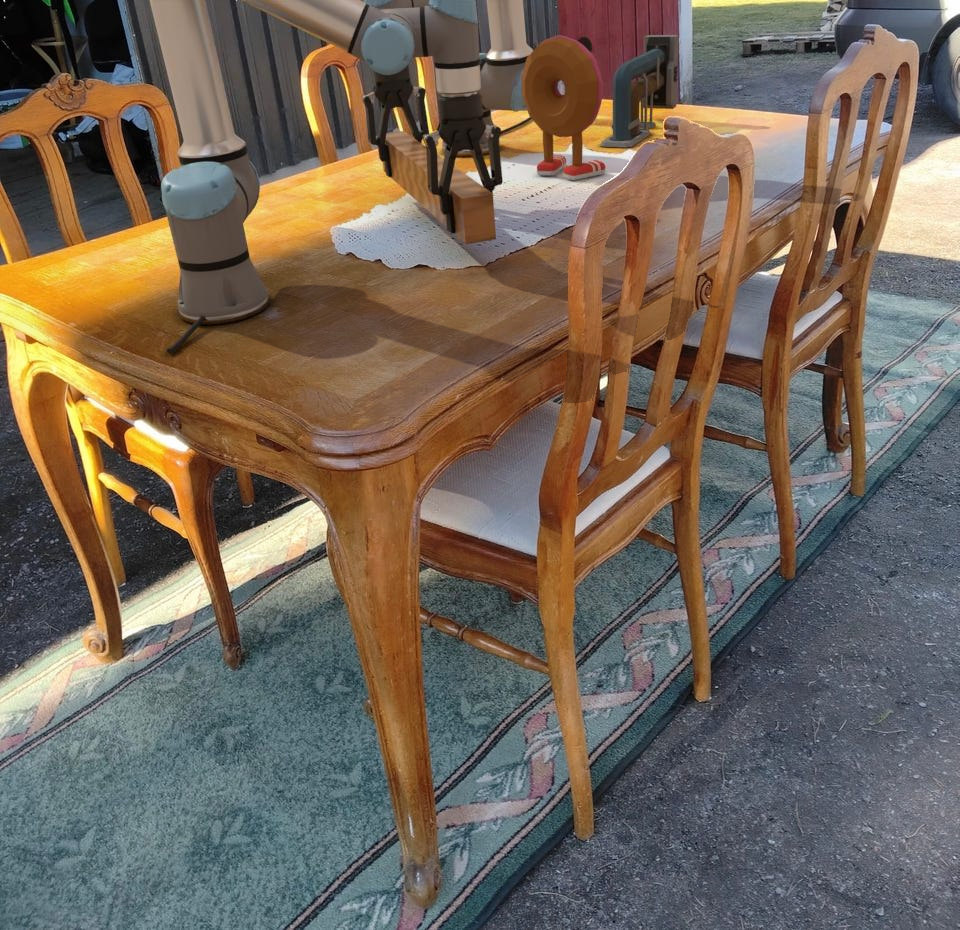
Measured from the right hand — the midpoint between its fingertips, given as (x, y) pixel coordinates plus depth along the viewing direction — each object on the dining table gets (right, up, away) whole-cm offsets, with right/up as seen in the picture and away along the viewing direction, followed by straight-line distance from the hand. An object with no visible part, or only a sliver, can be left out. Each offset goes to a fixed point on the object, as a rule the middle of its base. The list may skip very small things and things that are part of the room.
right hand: (403, 173), depth 212 cm
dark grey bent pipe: (+59, +25, +47) cm, 79 cm away
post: (+7, -11, -19) cm, 23 cm away
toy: (+37, +4, +14) cm, 40 cm away
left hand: (+15, -22, -38) cm, 46 cm away
